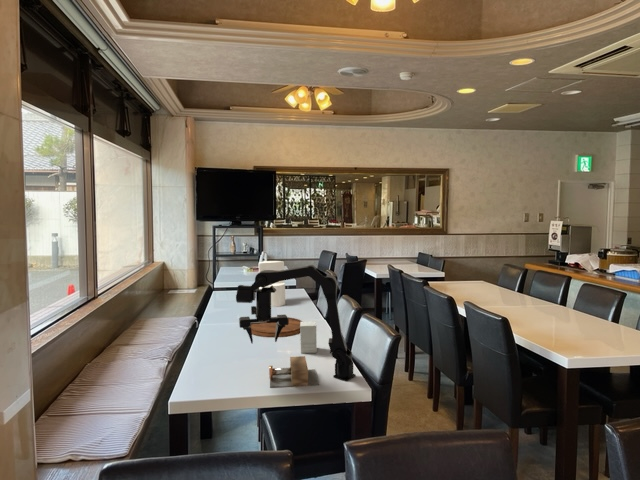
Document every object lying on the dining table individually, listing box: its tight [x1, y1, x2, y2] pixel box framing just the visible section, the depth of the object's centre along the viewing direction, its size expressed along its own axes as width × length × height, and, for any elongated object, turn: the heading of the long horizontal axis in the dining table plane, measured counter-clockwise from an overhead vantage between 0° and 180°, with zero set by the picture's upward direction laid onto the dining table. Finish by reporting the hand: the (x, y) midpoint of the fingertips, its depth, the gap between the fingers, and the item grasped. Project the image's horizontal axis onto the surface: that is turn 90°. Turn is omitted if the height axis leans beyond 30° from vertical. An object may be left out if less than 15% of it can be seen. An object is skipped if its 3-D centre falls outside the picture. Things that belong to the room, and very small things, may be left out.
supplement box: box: [299, 321, 318, 354], centre depth 192 cm, size 7×7×13 cm
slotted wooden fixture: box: [269, 355, 320, 389], centre depth 161 cm, size 18×14×6 cm
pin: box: [268, 365, 291, 379], centre depth 160 cm, size 10×5×5 cm, turn 97°
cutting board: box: [250, 316, 304, 338], centre depth 227 cm, size 32×32×2 cm
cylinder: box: [258, 260, 286, 308], centre depth 281 cm, size 17×17×28 cm
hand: (263, 342), depth 164 cm, fingers open, 9 cm apart
